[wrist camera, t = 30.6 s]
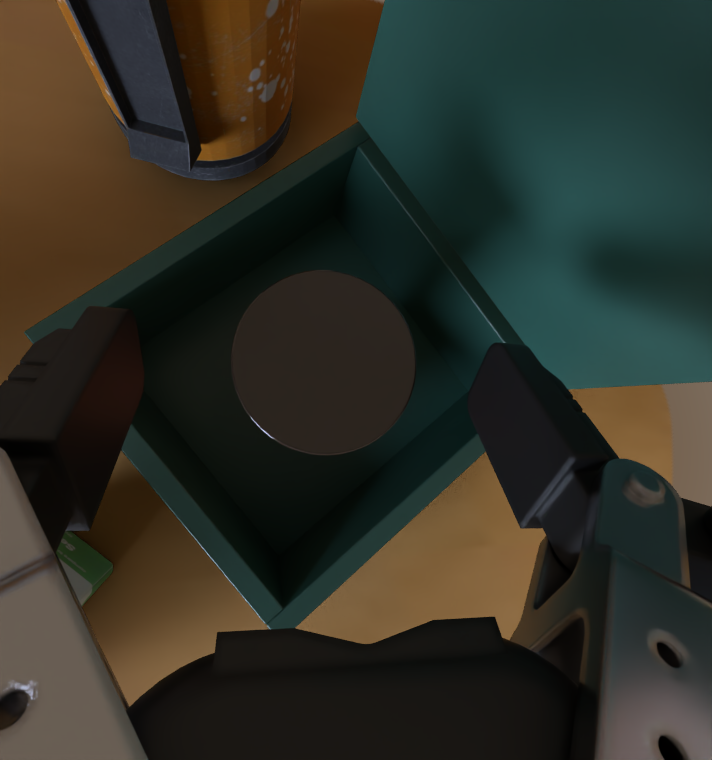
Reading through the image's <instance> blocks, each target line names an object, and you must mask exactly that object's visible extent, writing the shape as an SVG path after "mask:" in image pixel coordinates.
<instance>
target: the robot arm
mask: <svg viewBox="0 0 712 760" xmlns="http://www.w3.org/2000/svg"><path fill="white" fill-rule="evenodd" d="M143 389H144V365H143V359H142V353H141V347H140V341H139V335H138V329H137V323H136V318H135V314H134V312H133V311H132V310H131V309H122V308H111V307H100V306H89V307H87V308H86V309H85V311H84V312H83V314H82V315H81V317H80V318H79V319H78V321H77V322H76V324H75V325H74V327H73V328H72V329H63V328H58V329H56V330H55V331H53V332H51V333H50V334H48V335H46V336H45V337H43V338H41V339H40V340H38V341H36V342H35V343H34V344H33V345H32V346H31V348H30V349H29V350H28V352H27V353H26V354H25V355H24V357H23V358H22V359H21V360H20V365H17V366H16V367H15V368H14V369H13V371H12V372H11V373H10V374H9V376H8V380H5V381H4V382H3V383H2V385H1V386H0V760H712V507H710V506H707V505H704V504H700V503H697V502H693V501H690V500H686V499H683V498H680V497H679V495H678V493H677V491H676V490H675V489H674V488H673V486H672V485H671V484H670V483H669V482H668V481H667V480H665V479H664V478H663V477H662V476H661V475H659V474H658V473H657V472H655V471H654V470H652V469H650V468H649V467H647V466H645V465H643V464H640V463H638V462H635V461H632V460H628V459H619V457H618V456H617V455H616V453H615V452H614V451H613V449H612V448H611V447H610V445H609V444H608V443H607V441H606V440H605V439H604V437H603V436H602V435H601V433H600V432H599V431H598V429H597V428H596V427H595V425H594V424H593V423H592V421H591V420H590V419H589V417H588V416H587V415H586V413H583V412H582V410H583V409H582V408H581V407H580V405H579V404H578V403H577V401H576V400H573V396H572V394H571V393H570V392H569V390H568V389H567V388H566V386H565V385H564V384H563V382H562V381H561V380H560V379H558V378H557V377H556V376H555V375H553V374H552V373H551V372H550V371H548V370H547V369H546V368H545V367H543V366H542V364H541V363H540V362H539V360H538V359H537V358H536V356H535V355H534V353H533V352H532V351H531V349H530V348H529V347H528V346H526V345H521V344H510V343H498V342H496V343H493V344H492V345H491V346H490V347H489V349H488V351H487V353H486V355H485V357H484V359H483V361H482V364H481V366H480V368H479V370H478V372H477V375H476V377H475V379H474V381H473V383H472V386H471V388H470V390H469V393H468V399H467V407H468V412H469V415H470V418H471V420H472V422H473V424H474V427H475V429H476V431H477V433H478V435H479V438H480V440H481V442H482V444H483V446H484V449H485V451H486V453H487V455H488V457H489V460H490V462H491V464H492V466H493V468H494V471H495V473H496V475H497V477H498V480H499V482H500V484H501V486H502V488H503V491H504V493H505V495H506V497H507V499H508V502H509V504H510V506H511V508H512V510H513V513H514V515H515V517H516V519H517V521H518V524H519V526H520V528H543V529H544V531H545V533H546V537H545V538H544V539H543V540H542V541H541V543H540V546H539V549H538V553H537V557H536V561H535V566H534V570H533V574H532V578H531V582H530V586H529V590H528V594H527V598H526V602H525V606H524V610H523V614H522V617H521V620H520V622H519V624H518V626H517V628H516V630H515V632H514V633H513V635H512V637H511V639H510V641H509V640H507V639H504V638H502V636H501V633H500V630H499V628H498V625H497V622H496V619H495V617H480V618H462V619H445V620H432V621H430V622H427V623H425V624H422V625H420V626H417V627H414V628H412V629H409V630H407V631H404V632H402V633H399V634H396V635H394V636H391V637H389V638H386V639H384V640H381V641H378V642H376V643H372V644H360V643H355V642H351V641H347V640H342V639H338V638H334V637H329V636H325V635H321V634H316V633H312V632H308V631H303V630H299V629H295V628H285V629H267V630H249V631H231V632H217V639H216V647H215V653H213V654H210V655H207V656H205V657H202V658H199V659H197V660H195V661H193V662H191V663H189V664H187V665H185V666H183V667H181V668H179V669H178V670H176V671H175V672H173V673H171V674H170V675H168V676H167V677H165V678H164V679H162V680H161V681H159V682H158V683H157V684H155V685H154V686H153V687H152V688H151V689H149V690H148V691H147V692H146V693H144V694H143V695H142V696H141V697H140V698H139V699H137V700H136V701H135V702H134V703H133V704H132V705H131V706H130V707H129V705H128V703H127V701H126V699H125V697H124V694H123V692H122V690H121V688H120V686H119V684H118V682H117V680H116V678H115V675H114V673H113V671H112V669H111V667H110V665H109V663H108V661H107V659H106V657H105V655H104V653H103V651H102V649H101V646H100V644H99V642H98V640H97V638H96V636H95V634H94V632H93V630H92V627H91V625H90V623H89V621H88V619H87V617H86V615H85V613H84V610H83V608H82V606H81V604H80V602H79V600H78V598H77V596H76V593H75V591H74V589H73V587H72V585H71V583H70V581H69V579H68V576H67V574H66V572H65V570H64V568H63V566H62V564H61V562H60V559H59V557H58V555H57V553H56V551H57V549H58V547H59V545H60V542H61V540H62V538H63V535H64V533H65V531H90V528H91V526H92V523H93V520H94V518H95V515H96V513H97V510H98V508H99V505H100V502H101V500H102V497H103V495H104V492H105V490H106V487H107V484H108V482H109V479H110V477H111V474H112V472H113V469H114V467H115V464H116V461H117V459H118V456H119V454H120V451H121V449H122V446H123V443H124V441H125V438H126V436H127V433H128V431H129V428H130V425H131V423H132V420H133V418H134V415H135V413H136V410H137V408H138V405H139V402H140V400H141V397H142V394H143Z"/></svg>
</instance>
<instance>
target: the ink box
mask: <svg viewBox="0 0 712 760" xmlns="http://www.w3.org/2000/svg"><path fill="white" fill-rule="evenodd" d="M56 553H57V555H58V557H59V559H60V562H61V564H62V566H63V568H64V570H65V572H66V574H67V576H68V579H69V581H70V583H71V585H72V587H73V589H74V591H75V593H76V596H77V598H78V600H79V602H80V604H81V606H83V605H84V604H85V602H86V601H87V600H88V599H89V598H90V597H91V596H92V595H93V593H94V592H95V591H96V590H97V589H98V588H99V587H100V586H101V585H102V583H103V582H104V581H105V580H106V579H107V578H108V577H109V576H110V575H111V573H112V572H113V564H112V563H111V562H110V561H109V560H107V559H106V558H105V557H103V556H102V555H101V554H99V553H98V552H97V551H96V550H94V549H93V548H92V547H91V546H89V545H88V544H87V543H85V542H84V541H83V540H81V539H80V538H79V537H77V536H76V535H75V534H74V533H72V532H71V531H65V533H64V535H63V538H62V540H61V542H60V545H59V547H58V549H57V551H56Z"/></svg>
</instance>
